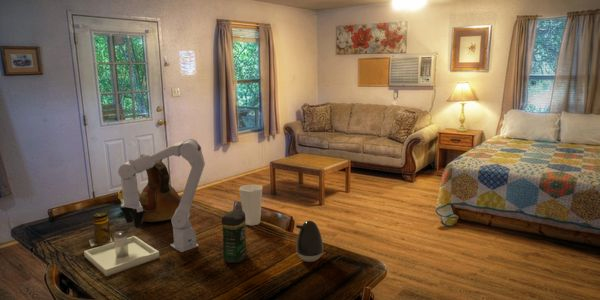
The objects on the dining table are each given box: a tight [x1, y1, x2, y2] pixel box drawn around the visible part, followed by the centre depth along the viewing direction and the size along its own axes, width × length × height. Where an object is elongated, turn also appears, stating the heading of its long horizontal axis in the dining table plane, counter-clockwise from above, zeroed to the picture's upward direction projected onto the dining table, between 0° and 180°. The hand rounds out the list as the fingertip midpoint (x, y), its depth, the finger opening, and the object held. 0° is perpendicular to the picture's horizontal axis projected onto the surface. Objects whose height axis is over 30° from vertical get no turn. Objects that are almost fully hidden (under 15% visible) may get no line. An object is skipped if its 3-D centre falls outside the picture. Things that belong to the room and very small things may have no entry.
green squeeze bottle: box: [221, 209, 248, 264], centre depth 158 cm, size 10×8×19 cm
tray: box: [83, 235, 160, 277], centre depth 162 cm, size 22×20×2 cm
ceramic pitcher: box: [139, 159, 181, 223], centre depth 198 cm, size 20×20×30 cm
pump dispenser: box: [295, 220, 324, 263], centre depth 156 cm, size 10×10×15 cm
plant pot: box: [117, 188, 141, 205], centre depth 216 cm, size 10×10×10 cm
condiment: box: [88, 212, 114, 247], centre depth 176 cm, size 7×8×12 cm
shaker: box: [113, 230, 129, 258], centre depth 161 cm, size 5×5×9 cm
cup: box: [239, 183, 264, 226], centre depth 193 cm, size 11×10×17 cm
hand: (133, 224), depth 167 cm, fingers open, 7 cm apart
